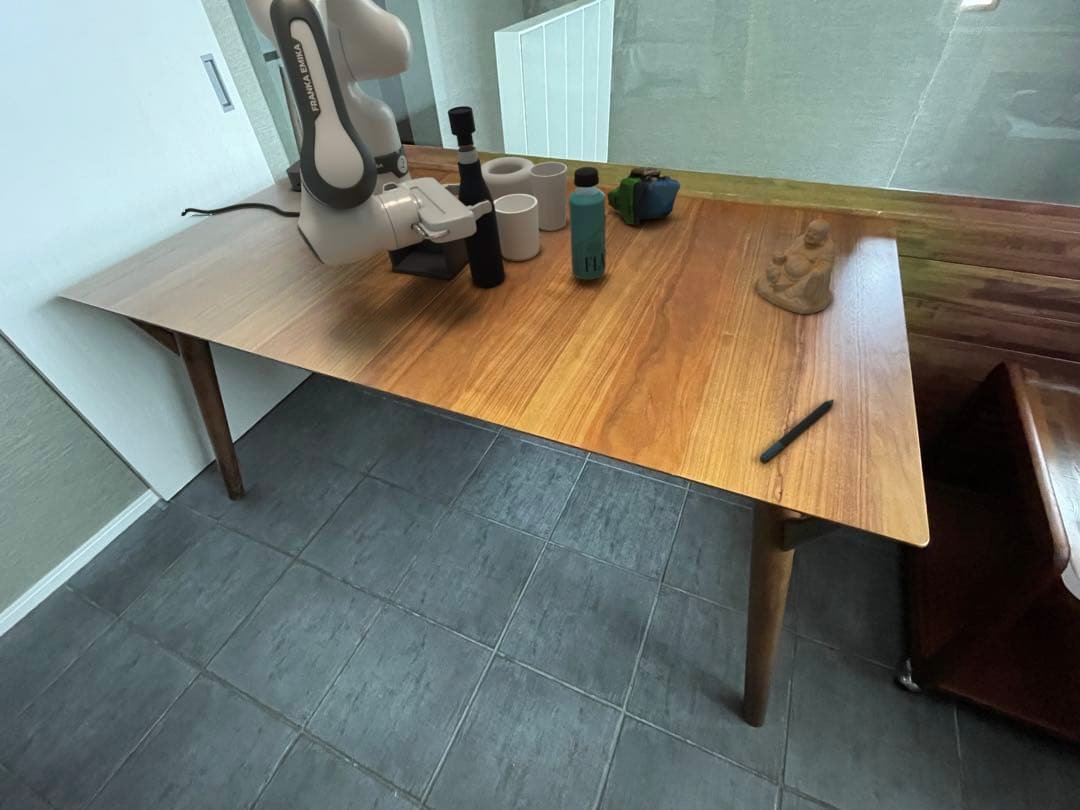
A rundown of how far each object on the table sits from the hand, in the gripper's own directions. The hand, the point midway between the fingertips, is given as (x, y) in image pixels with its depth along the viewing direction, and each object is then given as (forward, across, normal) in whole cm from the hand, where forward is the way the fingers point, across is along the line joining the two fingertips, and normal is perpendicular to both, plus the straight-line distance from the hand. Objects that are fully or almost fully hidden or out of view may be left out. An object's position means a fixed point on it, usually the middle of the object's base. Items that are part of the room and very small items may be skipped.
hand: (478, 195), depth 92 cm
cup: (+21, +13, +16) cm, 30 cm away
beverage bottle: (+15, -11, +16) cm, 25 cm away
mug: (+9, +7, +16) cm, 20 cm away
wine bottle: (-1, 0, +16) cm, 16 cm away
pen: (+17, -60, +16) cm, 64 cm away
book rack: (-8, +12, +16) cm, 22 cm away
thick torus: (+21, +35, +16) cm, 44 cm away
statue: (+41, -37, +16) cm, 57 cm away
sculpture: (+38, +4, +16) cm, 42 cm away
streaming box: (-17, +78, +16) cm, 81 cm away
